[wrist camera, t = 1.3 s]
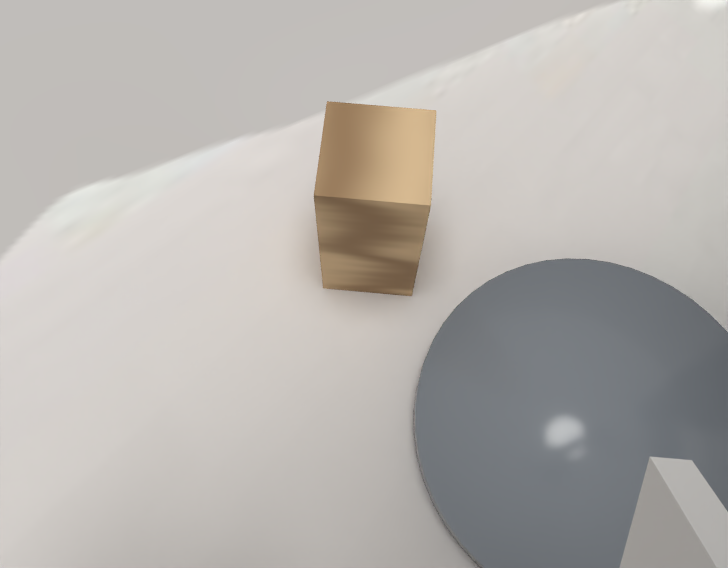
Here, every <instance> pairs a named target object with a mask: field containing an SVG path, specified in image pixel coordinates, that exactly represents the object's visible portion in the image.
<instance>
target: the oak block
mask: <svg viewBox="0 0 728 568" xmlns="http://www.w3.org/2000/svg"><path fill="white" fill-rule="evenodd" d="M435 124H436V110H424V109H412V108H400V107H388V106H376V105H364V104H352V103H340V102H327V105H326V112H325V119H324V127H323V134H322V141H321V148H320V155H319V162H318V169H317V176H316V184H315V191H314V202H315V212H316V222H317V231H318V241H319V251H320V261H321V271H322V281H323V288H327V289H338V290H349V291H360V292H372V293H383V294H394V295H405V296H412V292H413V287H414V283H415V278H416V273H417V269H418V264H419V259H420V254H421V250H422V245H423V240H424V235H425V231H426V226H427V221H428V216H429V212H430V207H431V194H432V176H433V159H434V142H435Z"/></svg>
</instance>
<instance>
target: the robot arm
mask: <svg viewBox="0 0 728 568" xmlns="http://www.w3.org/2000/svg"><path fill="white" fill-rule="evenodd" d="M620 568H728V512H727V510H726V509H725V507H724V506H723V504H722V503H721V501H720V500H719V499H718V497H717V496H716V494H715V493H714V491H713V490H712V488H711V487H710V486H709V484H708V483H707V481H706V480H705V478H704V477H703V475H702V474H701V473H700V471H699V470H698V468H697V467H696V465H695V464H694V463H693V461H692V460H684V459H673V458H661V457H650V458H649V461H648V465H647V469H646V472H645V476H644V480H643V483H642V487H641V491H640V494H639V498H638V502H637V505H636V509H635V513H634V516H633V520H632V524H631V527H630V531H629V535H628V538H627V542H626V546H625V549H624V553H623V557H622V560H621V564H620Z"/></svg>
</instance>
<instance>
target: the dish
mask: <svg viewBox="0 0 728 568" xmlns="http://www.w3.org/2000/svg"><path fill="white" fill-rule="evenodd" d="M414 439H415V446H416V454H417V459H418V463H419V467H420V470H421V474H422V478H423V481H424V483H425V486H426V488H427V491H428V493H429V496H430V498H431V501H432V503H433V505H434V507H435V508H436V510H437V512H438V514H439V516H440V517H441V519H442V521H443V523H444V525H445V526H446V528H447V529H448V530H449V532H450V533H451V534H452V536H453V537H454V538H455V540H456V541H457V543H458V544H459V545H460V547H461V548H462V549H463V550H464V551H465V552H466V553H467V554H468V555H469V556H470V557H471V558H472V559H473V560H474V561H475V563H476V564H477V565H478V566H480V567H481V568H620V564H621V560H622V557H623V553H624V549H625V546H626V542H627V538H628V535H629V531H630V527H631V524H632V520H633V516H634V513H635V509H636V505H637V502H638V498H639V494H640V491H641V487H642V483H643V480H644V476H645V472H646V469H647V465H648V461H649V458H650V457H661V458H673V459H684V460H692V461H693V463H694V464H695V465H696V467H697V468H698V470H699V471H700V473H701V474H702V475H703V477H704V478H705V480H706V481H707V483H708V484H709V486H710V487H711V488H712V490H713V491H714V493H715V494H716V496H717V497H718V499H719V500H720V501H721V503H722V504H723V506H724V507H725V509H726V510H727V512H728V332H727V331H726V330H725V329H724V328H723V327H722V326H721V325H720V324H719V323H718V322H717V321H716V320H715V319H714V318H713V317H712V316H711V315H710V314H709V313H708V312H707V311H705V310H704V309H703V308H702V307H700V306H699V305H698V304H697V303H695V302H694V301H693V300H692V299H690V298H689V297H687V296H686V295H684V294H683V293H681V292H680V291H678V290H677V289H675V288H674V287H672V286H670V285H668V284H666V283H664V282H662V281H660V280H658V279H657V278H655V277H653V276H650V275H648V274H645V273H643V272H640V271H637V270H635V269H632V268H629V267H625V266H621V265H618V264H614V263H610V262H604V261H597V260H590V259H557V260H546V261H541V262H537V263H532V264H527V265H524V266H521V267H518V268H516V269H513V270H510V271H507V272H505V273H503V274H501V275H499V276H497V277H495V278H493V279H491V280H489V281H488V282H486V283H485V284H483V285H482V286H481V287H479V288H478V289H476V290H475V291H473V292H472V293H471V294H470V295H469V296H468V297H467V298H466V299H464V300H463V301H462V302H461V303H460V304H459V305H458V306H457V307H456V308H455V309H454V311H453V312H452V313H451V314H450V316H449V317H448V318H447V319H446V321H445V322H444V323H443V325H442V327H441V328H440V330H439V332H438V333H437V335H436V337H435V338H434V340H433V342H432V344H431V347H430V349H429V351H428V354H427V356H426V359H425V361H424V364H423V367H422V370H421V374H420V378H419V381H418V385H417V389H416V396H415V404H414Z"/></svg>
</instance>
